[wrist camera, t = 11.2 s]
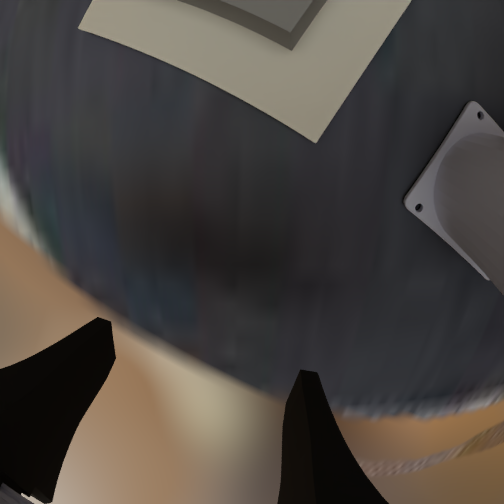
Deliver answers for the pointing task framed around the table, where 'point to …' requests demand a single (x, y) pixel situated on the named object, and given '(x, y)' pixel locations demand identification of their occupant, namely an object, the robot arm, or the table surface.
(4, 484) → the robot arm
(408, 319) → the table surface
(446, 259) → the table surface
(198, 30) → the socket block on plate
